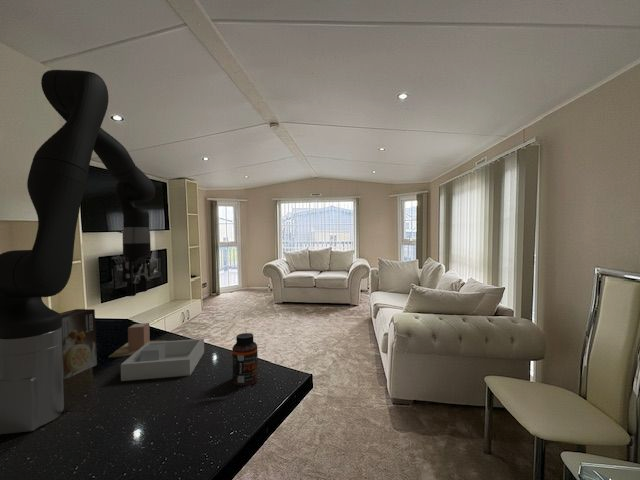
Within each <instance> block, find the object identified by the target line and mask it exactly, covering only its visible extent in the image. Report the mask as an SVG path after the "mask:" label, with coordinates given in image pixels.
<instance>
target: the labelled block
mask: <svg viewBox="0 0 640 480" xmlns="http://www.w3.org/2000/svg"><path fill="white" fill-rule="evenodd" d="M150 335H151V334H150V323H149V322H147V323H134V324H131V325H130V326H129V327H128V328H127V343H128V351H132V350H139V349H140V348H141V347H142V346H144V345H145V344H146V343H147V342H150V341H151V339H150Z"/></svg>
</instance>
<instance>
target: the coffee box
mask: <svg viewBox="0 0 640 480" xmlns="http://www.w3.org/2000/svg"><path fill="white" fill-rule="evenodd" d="M58 313H59V314H60V315H61V320H62V326H61V327H62V361H63V380H66V379H69V378H70V377H74V376H75V375H77V374H80V373H82V372H84V371H86V370H88V369H91V368H93V367H96V366H97V365H98V359H97V358H98V357H97V356H98V355H97V337H96V336H97V335H96V330H97V329H96V312H95V309H94V308H93V309H92V308H91V309H90V308H89V309H88V308H87V309H86V308H76V309H71V310H67V311H62V312H58Z"/></svg>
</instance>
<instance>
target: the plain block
mask: <svg viewBox="0 0 640 480" xmlns="http://www.w3.org/2000/svg"><path fill="white" fill-rule="evenodd" d="M155 360H165V344H159V345H147V346H146V347H145V348H144V349H143V350H141V362H142V361H155Z"/></svg>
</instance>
